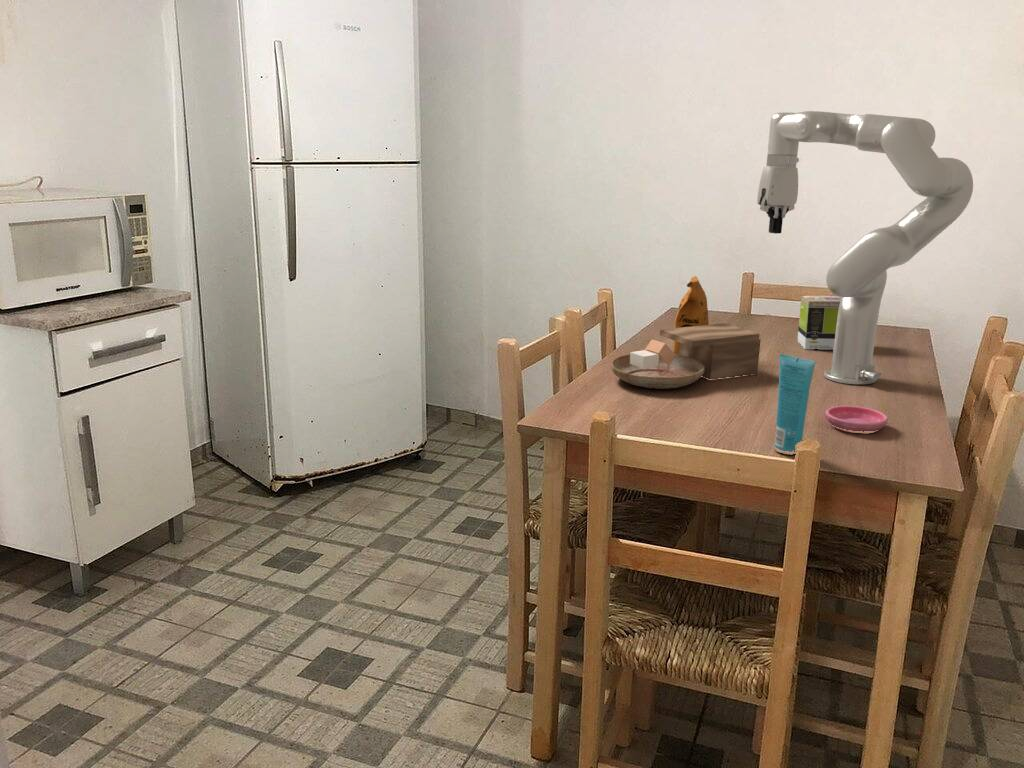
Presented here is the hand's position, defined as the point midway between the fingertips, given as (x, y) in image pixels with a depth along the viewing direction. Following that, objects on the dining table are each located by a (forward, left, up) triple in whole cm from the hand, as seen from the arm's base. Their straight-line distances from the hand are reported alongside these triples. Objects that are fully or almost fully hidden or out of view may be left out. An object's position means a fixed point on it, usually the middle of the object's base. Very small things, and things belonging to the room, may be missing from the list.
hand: (774, 232), depth 225 cm
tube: (-59, +44, -35) cm, 82 cm away
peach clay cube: (-6, +38, -26) cm, 47 cm away
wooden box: (-5, +23, -35) cm, 42 cm away
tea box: (+5, -28, -35) cm, 45 cm away
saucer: (-53, +20, -36) cm, 67 cm away
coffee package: (+11, +17, -35) cm, 41 cm away
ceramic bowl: (-7, +40, -36) cm, 54 cm away
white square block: (-7, +44, -27) cm, 52 cm away
